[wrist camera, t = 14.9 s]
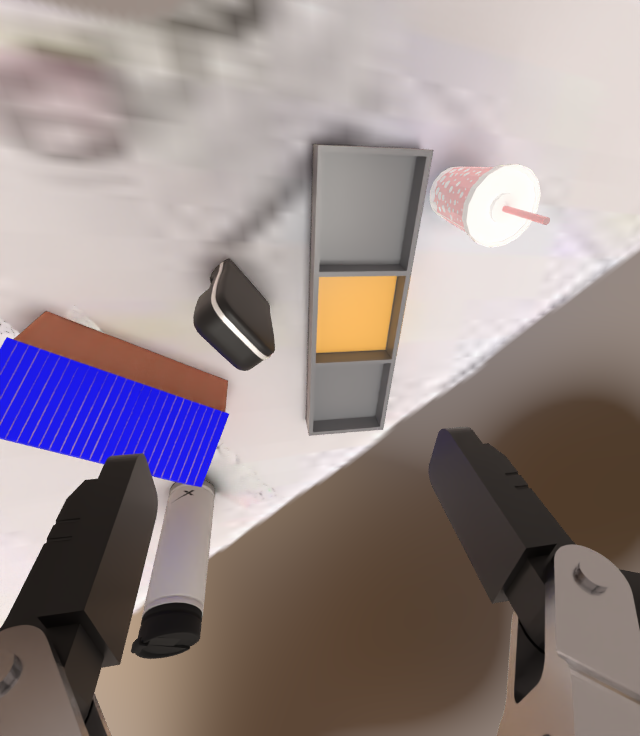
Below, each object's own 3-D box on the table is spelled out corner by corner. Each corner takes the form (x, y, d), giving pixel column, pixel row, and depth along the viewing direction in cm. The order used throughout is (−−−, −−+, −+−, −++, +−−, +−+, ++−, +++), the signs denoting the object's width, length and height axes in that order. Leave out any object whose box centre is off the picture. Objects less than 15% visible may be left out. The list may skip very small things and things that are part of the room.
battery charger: (199, 277, 37) (181, 328, 27) (227, 254, 36) (219, 298, 26) (245, 325, 40) (243, 385, 31) (272, 305, 39) (278, 360, 30)
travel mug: (181, 469, 50) (148, 634, 34) (223, 485, 53) (211, 643, 37) (160, 495, 53) (118, 662, 36) (201, 509, 56) (180, 668, 39)
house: (44, 305, 36) (-32, 369, 26) (231, 378, 44) (226, 447, 34) (19, 393, 41) (-53, 475, 31) (193, 444, 49) (179, 521, 39)
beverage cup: (490, 196, 37) (600, 225, 25) (439, 237, 38) (521, 283, 27) (464, 141, 34) (577, 146, 22) (410, 188, 35) (489, 216, 24)
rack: (312, 144, 32) (318, 145, 29) (421, 148, 33) (435, 150, 31) (305, 420, 49) (308, 435, 47) (377, 414, 51) (384, 429, 48)
